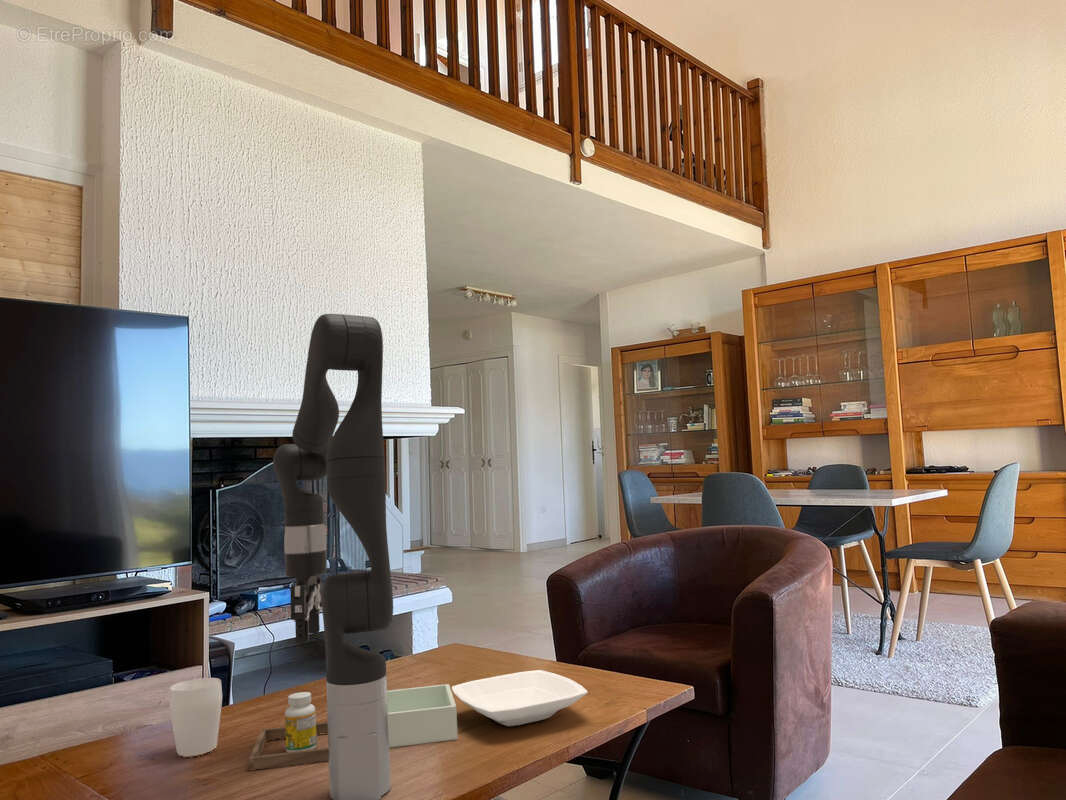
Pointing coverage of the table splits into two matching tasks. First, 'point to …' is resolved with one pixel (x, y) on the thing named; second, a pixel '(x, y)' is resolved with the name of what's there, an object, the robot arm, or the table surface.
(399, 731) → the plastic bin
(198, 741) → the cup
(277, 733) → the walnut frame
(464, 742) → the table surface
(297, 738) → the supplement bottle
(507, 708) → the bowl
